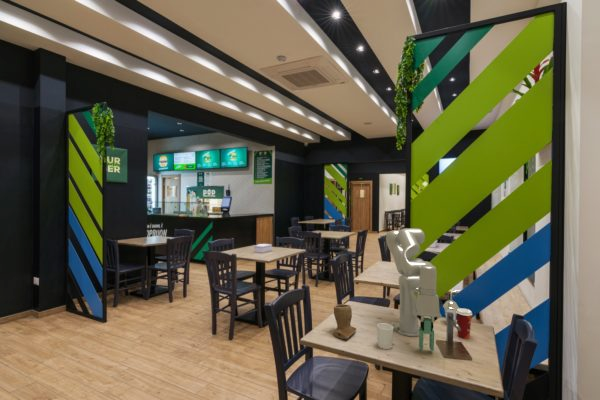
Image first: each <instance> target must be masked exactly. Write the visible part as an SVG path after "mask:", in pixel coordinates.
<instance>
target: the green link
mask: <svg viewBox="0 0 600 400" xmlns="http://www.w3.org/2000/svg"><path fill="white" fill-rule="evenodd" d="M418 329H419V335H418V347H419V350H420V351H423V350H424V334H425V335H429V347H428V348H429V349H430V351H431V352H435V331H434V328H433V329H432V331H431V320H430V317H427V316H424V330H422V328H421V327H420V326H418Z"/></svg>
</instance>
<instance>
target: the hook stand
mask: <svg viewBox="0 0 600 400" xmlns="http://www.w3.org/2000/svg"><path fill="white" fill-rule="evenodd" d="M446 323H447V324H446V335H445V336H446V337H445V338H446V340H445V339H444V340H440V339H436V340H435V342H436V345H437V346H438V349H439V351H440V353H441V355H442V356H443V358H444V359H454V360H463V361H473V357H472V355H471V354H470V353H469V351H468V349H467V348H466V347H465V345H464V343H462V341H454V328H456V331H457V330H458V331H461V328H460V327H459V326H458V324H457V321H455V320H454V314H453V313H451V312H447V322H446ZM453 325H454V326H453ZM458 331H457V332H458Z"/></svg>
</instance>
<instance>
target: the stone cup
mask: <svg viewBox="0 0 600 400" xmlns="http://www.w3.org/2000/svg"><path fill="white" fill-rule="evenodd" d="M352 311H353V310H352V306H351V305H349V304H345V303H343V304H336V305H334V306H333V315H334V319H335V323H336V328H335V330H334V331H333V332H332V334H333V335H334V337H337V338H338V339H340V338H341V339H342V340H347V339H349V338H350V337H351V336H352V335H353V334H354V333H356V331H357V328H356V327H354V326H352V325H351V323H352V316H353V313H352ZM341 339H340V340H341Z"/></svg>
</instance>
